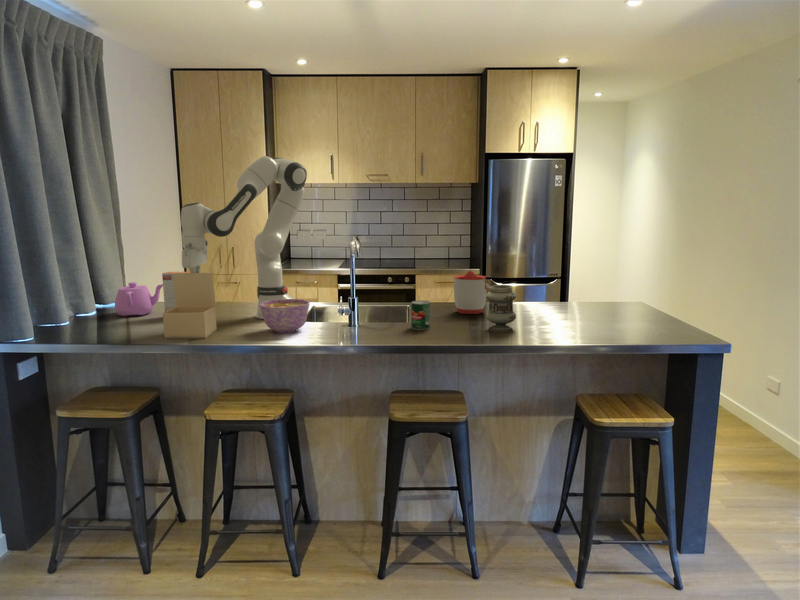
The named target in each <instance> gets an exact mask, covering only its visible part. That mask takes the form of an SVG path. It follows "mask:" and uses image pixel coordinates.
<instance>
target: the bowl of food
mask: <svg viewBox="0 0 800 600" xmlns="http://www.w3.org/2000/svg"><path fill="white" fill-rule="evenodd" d="M260 308H261V311H262V315H263V318H264V319H263V321H264V323H265V325H266V326H267V328H268V329H271V330H273V331H275V332H276V333H280V334H289V333H295V332H296V331H297V330H299V329H301V328H302V327H303V326H305V324H306V322H307V317H308V313H309V308H310V301H309V300H305V299H299V298H294V299H279V300H271V301H266V302H262V303H260Z"/></svg>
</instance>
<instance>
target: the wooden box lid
mask: <svg viewBox="0 0 800 600" xmlns="http://www.w3.org/2000/svg"><path fill="white" fill-rule="evenodd" d="M172 276H173V284H174V293H175V301H176V307H214V306H215V307H217V303H216V296H215V295H216V294H215V285H214V275H213V272H200V273H172Z"/></svg>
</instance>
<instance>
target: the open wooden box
mask: <svg viewBox="0 0 800 600" xmlns="http://www.w3.org/2000/svg"><path fill="white" fill-rule="evenodd" d="M216 314H217V313H216V306H204V307H175V308H173V309H171V310H169V311H167V312H165V311H164V312H162V321H163V333H164V335H163V336H164V339H165V338H178V339H207V338H209V337H210V336H211V335H213V334H214V333H215V332H216V331H217V330H218V329H217V315H216Z"/></svg>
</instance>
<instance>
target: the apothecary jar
mask: <svg viewBox="0 0 800 600" xmlns="http://www.w3.org/2000/svg"><path fill="white" fill-rule="evenodd" d="M490 287H491V289H490V290H489V291H488V292H486V300H488V303H489V304H488V305H489V307H488V312H486V314H485V318H486V319H487V321H488V322H490V323H492V324H495V325H492V326H489V327H488V331H491V332H494V333H510V332H513V330H514V328H512V327H511V326H509V325H507V324H510V323H512V322H514V321H515V320H516V318H517V314H516V313H515V311H514V301H515V300H516V298H517V294H516V293H515V292H514V291H513V288H512V286H511V285H506V284H505V285H504V284H503V285H501V284H498V285H491V286H490Z"/></svg>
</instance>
